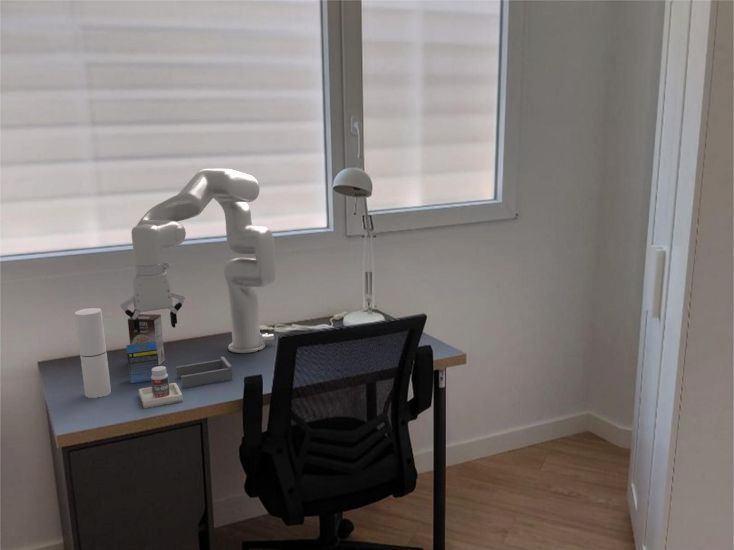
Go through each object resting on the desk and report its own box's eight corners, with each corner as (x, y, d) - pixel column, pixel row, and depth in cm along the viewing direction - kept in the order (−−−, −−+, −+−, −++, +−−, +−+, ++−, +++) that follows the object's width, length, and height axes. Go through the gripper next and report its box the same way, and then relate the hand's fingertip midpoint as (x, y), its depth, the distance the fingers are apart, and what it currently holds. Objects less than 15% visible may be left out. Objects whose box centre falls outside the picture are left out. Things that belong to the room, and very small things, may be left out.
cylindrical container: (95, 399, 204) (85, 315, 199) (79, 395, 208) (69, 312, 203) (116, 391, 210) (106, 309, 205) (100, 387, 214) (90, 306, 208)
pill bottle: (154, 400, 201) (151, 372, 199) (151, 395, 205) (148, 367, 203) (171, 397, 203) (168, 369, 201) (167, 391, 207) (165, 364, 205)
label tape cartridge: (159, 375, 222) (156, 337, 220) (160, 379, 219) (156, 341, 216) (130, 379, 220) (125, 341, 217) (130, 384, 216) (125, 345, 213)
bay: (224, 369, 226) (223, 356, 225) (232, 379, 217) (231, 366, 216) (176, 377, 220) (175, 364, 219) (182, 388, 211) (181, 374, 210)
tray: (176, 388, 211) (175, 382, 210) (182, 401, 201) (182, 394, 201) (139, 395, 206) (138, 389, 206) (144, 408, 197) (143, 401, 197)
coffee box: (131, 366, 231) (125, 319, 228) (139, 360, 237) (134, 313, 234) (158, 367, 230) (153, 319, 227) (165, 360, 236) (161, 313, 233)
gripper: (179, 263, 203) (184, 321, 207) (115, 271, 197) (122, 330, 200) (183, 268, 197) (189, 327, 201) (118, 276, 190) (125, 337, 194)
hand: (156, 329), depth 201 cm, fingers open, 9 cm apart
